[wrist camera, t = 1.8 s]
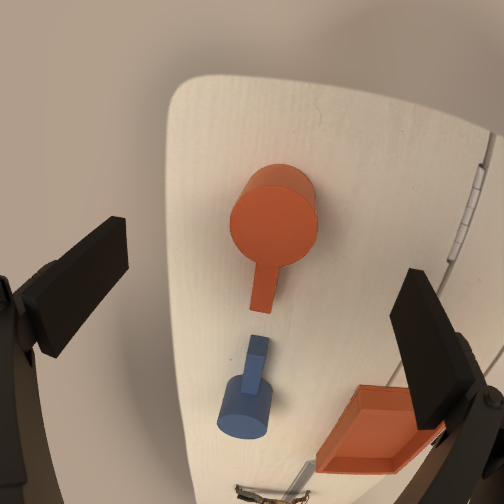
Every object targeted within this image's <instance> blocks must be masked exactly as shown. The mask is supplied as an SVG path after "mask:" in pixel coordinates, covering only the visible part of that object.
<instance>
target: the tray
mask: <svg viewBox="0 0 504 504" xmlns="http://www.w3.org/2000/svg"><path fill="white" fill-rule="evenodd" d="M444 428H445V423H444V420H443V421H442V422H441V424H440V425H439V426H438V427H437V428H436V429H435V430H418V429H417V424H416V419H415V414H414V409H413V405H412V400H411V396H410V391H409V389H408V388H392V387H378V386H367V385H359V387H358V388H357V390H356V392H355V394H354V395H353V397H352V399H351V401H350V402H349V404H348V406H347V407H346V409H345V411H344V412H343V414H342V416H341V417H340V419H339V420H338V422H337V424H336V425H335V427H334V428H333V430H332V431H331V433H330V435H329V436H328V438H327V439H326V441H325V442H324V444H323V445H322V447H321V448H320V450H319V451H318V453H317V454H316V473H330V474H355V475H383V474H396V473H398V472H399V471H400V470H401V469H402V468H403V467H405V466H406V465H407V464H408V463H409V462H410V461H411V460H412V459H414V458H415V457H416V456H417V455H418V454H419V453H420V452H421V451H422V450H423V449H424V448H425V447H426V446H427V445H428V444H429V443H430V442H431V441H432V440H433V439H434V438H435V437H436V436H437V435H438V434H439V433H440V432H441V431H442V430H443V429H444Z"/></svg>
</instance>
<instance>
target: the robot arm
mask: <svg viewBox="0 0 504 504" xmlns="http://www.w3.org/2000/svg"><path fill="white" fill-rule="evenodd" d="M128 269H129V266H128V252H127V238H126V220H125V218H121V217H115V216H111V217H110V218H108V219H107V220H106V221H105V222H103V223H102V224H101V225H100V226H98V227H97V228H96V229H94V230H93V231H92V232H91V233H90V234H88V235H87V236H86V237H85V238H83V239H82V240H81V241H80V242H78V243H77V244H76V245H75V246H74V247H73V248H71V249H70V250H69V251H68V252H66V253H65V254H64V255H63V256H62V257H61V258H59V259H58V260H54V261H52V262H50V263H48V264H46V265H44V266H43V267H42V268H41V269H40V270H39V271H38V272H37V273H35V274H34V275H33V276H32V278H30V279H28V280H27V281H26V282H25V283H24V284H23V285H22V286H21V287H20V288H19V289H17V291H15V292H14V293H13V294H12V291H11V288H10V285H9V282H8V279H7V278H6V277H5V276H1V275H0V504H64V501H63V498H62V495H61V492H60V489H59V485H58V482H57V478H56V475H55V471H54V467H53V464H52V460H51V455H50V451H49V447H48V442H47V438H46V433H45V428H44V423H43V417H42V412H41V405H40V398H39V391H38V383H37V375H36V366H35V354H34V351H33V348H32V347H33V345H34V344H35V343H36V342H38V345H39V347H40V350H41V352H42V353H44V354H47V355H49V356H51V357H53V358H57V357H58V356H59V354H60V353H61V352H62V350H63V349H64V348H65V346H66V345H67V344H68V343H69V341H70V340H71V338H72V337H73V336H74V335H75V333H76V332H77V331H78V330H79V328H80V327H81V325H83V323H84V322H85V321H86V319H87V318H88V317H89V316H90V314H91V313H92V312H93V311H94V309H95V308H96V307H97V306H98V305H99V303H100V302H101V301H102V300H103V298H104V297H105V296H106V295H107V294H108V292H109V291H110V290H111V289H112V288H113V286H114V285H115V284H116V283H117V282H118V281H119V279H120V278H121V277H122V276H123V275H124V273H125V272H126V271H127V270H128ZM390 319H391V323H392V326H393V330H394V333H395V337H396V340H397V344H398V347H399V351H400V355H401V359H402V363H403V366H404V370H405V374H406V379H407V383H408V387H409V391H410V396H411V400H412V405H413V409H414V414H415V419H416V424H417V429H418V430H435V429H436V428H437V427H438V426H439V425H440V424H441V422H442V421H443V420H444V423H445V427H446V429H445V430H444V431H443V432H442V433H441V434H440V435H439V436H438V437H437V438H436V439H435V440H434V441H433V442H432V443H431V445H432V446H433V445H434V446H433V448H432V449H431V451H430V452H429V454H428V456H427V457H426V459H425V460H424V462H423V463H422V465H421V466H420V468H419V470H418V471H417V472H416V474H415V475H414V477H413V478H412V480H411V481H410V482H409V484H408V485H407V487H406V488H405V490H404V491H403V492H402V493H401V495H400V496H399V498H398V499H397V500H396V501H395V503H394V504H467V503H468V501H469V499H470V501H469V504H504V397H503V395H502V393H501V392H500V391H499V390H498V389H496V388H495V387H492V386H489V385H487V384H486V381H485V379H484V376H483V374H482V372H481V369H480V367H479V365H478V362H477V360H475V359H476V358H475V356H474V354H473V353H472V349H471V347H470V345H469V343H468V341H467V340H466V339H465V338H464V337H463V335H462V334H461V333H459V332H455V331H454V329H453V327H452V325H451V323H450V321H449V318H448V316H447V314H446V312H445V310H444V308H443V306H442V305H441V303H440V301H439V299H438V297H437V295H436V293H435V291H434V289H433V287H432V285H431V284H430V282H429V280H428V278H427V276H426V274H425V273H424V271H423V270H418V269H413V268H409V270H408V272H407V275H406V277H405V280H404V282H403V285H402V287H401V290H400V292H399V295H398V297H397V299H396V302H395V304H394V306H393V309H392V311H391V313H390Z"/></svg>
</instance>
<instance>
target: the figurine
mask: <svg viewBox="0 0 504 504" xmlns="http://www.w3.org/2000/svg"><path fill="white" fill-rule="evenodd" d="M235 490H236V493H238V494H239V495H238V496H237V498H239V499H241V500H244V501H247V502H256V503H260V504H296V503H297V502H302V503H301V504H303V501H304V502H305V501H306V500H307V499H306V497H307V496H308V499H309V493H310V491H307V493H306V495H305V497H303V498H296V499H293V501H292V502H291V503H288V502H286V501H281V500H277V499H267V498H262V497H261V496H259V495H257V494H255V493H250V492H246V491H242V489H241V490H240V488H239V486H238V485H237V486H236V488H235ZM251 497H252V498H251ZM307 501H308V500H307ZM306 503H307V502H306ZM306 503H305V504H306Z"/></svg>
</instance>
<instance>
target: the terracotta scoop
mask: <svg viewBox="0 0 504 504" xmlns="http://www.w3.org/2000/svg"><path fill="white" fill-rule="evenodd" d="M230 232H231V236H232V238H233V241H234V243H235V244H236V246H237V247H238V249H239V250H240V251H241V252H242V253H243V254H244V255H245V256H246V257H248V258H249V259H251V260H253V261H255V262H256V268H255V275H254V282H253V288H252V295H251V302H250V310H252V311H257V312H263V313H268V314H270V313H271V310H272V305H273V300H274V295H275V290H276V285H277V280H278V275H279V269H280V266H284V265H288V264H291V263H294V262H296V261H298V260H299V259H301V258H302V257H304V256H305V255H306V254H307V253H308V252H309V251H310V249H311V248H312V246H313V245H314V243H315V240H316V237H317V232H318V221H317V210H316V199H315V191H314V188H313V186H312V183H311V182H310V180H309V179H308V178H307V176H306V175H305V174H304V173H303V172H301V171H300V170H298V169H296V168H294V167H292V166H289V165H283V164H274V165H269V166H266V167H264V168H262V169H260V170H258V171H257V172H256V173H255V174H254V175H253V176H252V177H251V178H250V180H249V181H248V183H247V185H246V187H245V188H244V190H243V192H242V193H241V195H240V197H239V199H238V200H237V202H236V204H235V205H234V207H233V210H232V212H231V216H230Z"/></svg>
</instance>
